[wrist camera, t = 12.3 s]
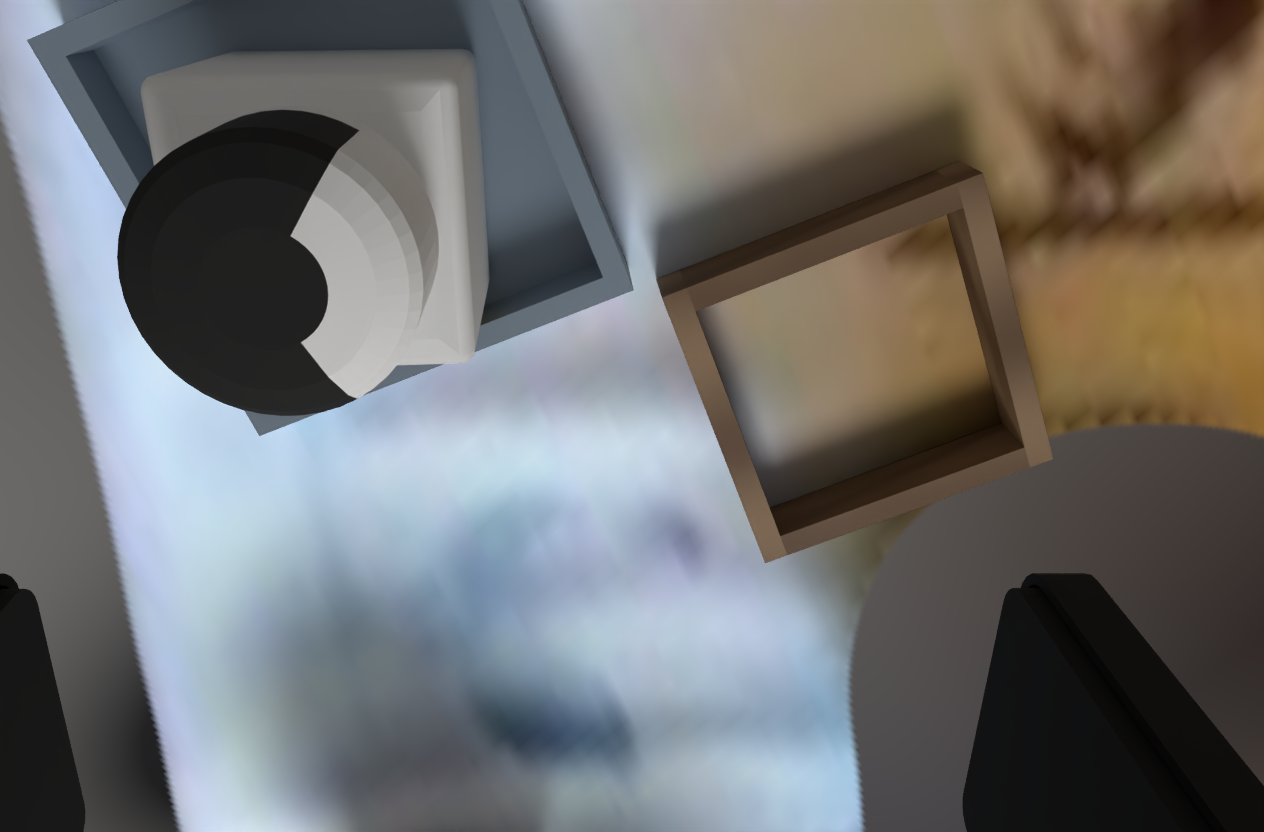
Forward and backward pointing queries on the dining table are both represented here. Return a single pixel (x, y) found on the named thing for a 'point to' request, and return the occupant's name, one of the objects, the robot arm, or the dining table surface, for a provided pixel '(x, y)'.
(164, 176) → the medicine bottle
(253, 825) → the dining table surface
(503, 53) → the tray
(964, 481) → the collar
